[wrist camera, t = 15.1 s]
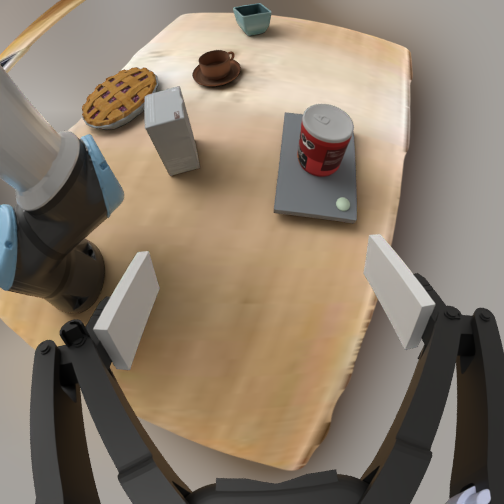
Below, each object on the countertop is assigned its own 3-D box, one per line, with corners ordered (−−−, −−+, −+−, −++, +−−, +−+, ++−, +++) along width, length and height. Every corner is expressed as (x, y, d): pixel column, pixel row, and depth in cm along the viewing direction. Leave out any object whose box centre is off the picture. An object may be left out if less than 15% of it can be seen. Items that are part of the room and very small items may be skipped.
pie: (177, 89, 59) (172, 75, 55) (111, 147, 56) (102, 135, 51) (132, 69, 64) (127, 58, 59) (76, 118, 60) (68, 108, 55)
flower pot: (272, 35, 65) (272, 11, 56) (244, 40, 64) (242, 16, 55) (261, 24, 67) (260, 2, 58) (234, 29, 66) (232, 7, 58)
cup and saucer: (209, 60, 62) (205, 43, 56) (249, 67, 60) (247, 49, 54) (185, 85, 60) (179, 68, 54) (226, 94, 58) (223, 75, 52)
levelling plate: (273, 216, 49) (273, 208, 45) (284, 121, 54) (284, 111, 51) (351, 226, 47) (357, 219, 44) (349, 131, 53) (353, 121, 50)
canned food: (301, 138, 49) (307, 98, 39) (342, 150, 48) (356, 112, 38) (291, 170, 48) (297, 131, 37) (335, 183, 47) (351, 147, 36)
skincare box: (165, 146, 54) (139, 95, 39) (198, 137, 54) (180, 82, 39) (169, 179, 52) (139, 129, 37) (204, 169, 52) (184, 114, 37)
